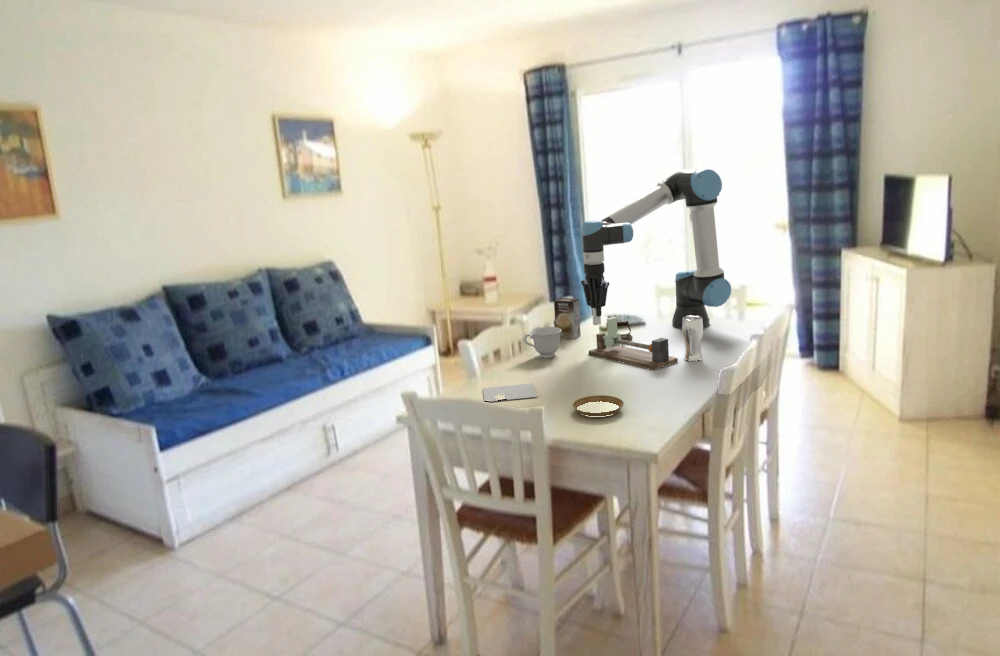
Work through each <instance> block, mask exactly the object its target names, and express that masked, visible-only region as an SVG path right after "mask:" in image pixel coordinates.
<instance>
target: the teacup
mask: <svg viewBox="0 0 1000 656" xmlns="http://www.w3.org/2000/svg"><path fill="white" fill-rule="evenodd" d="M561 331H562V330H561V329H560V328H557V327H555V326H543V327H542V326H541V327H537V328H533V329H531V330H530V331H529V333H526V334H524V336H523V341H524V343H525V344H526V345H527V346H530V347H533V348H534V349H535V351H536V352H537V353H538V354H539V357H540V358H542V357H544V358H543V359H550V358H549V357H551V358H553V357H555V356H556V352H558V350H559V348H560V339H561V338H560V332H561ZM528 337H529V339H530V340H533V343H530V342H529V341H527V338H528Z"/></svg>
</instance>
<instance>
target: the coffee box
mask: <svg viewBox="0 0 1000 656" xmlns="http://www.w3.org/2000/svg"><path fill="white" fill-rule="evenodd" d="M553 307H554V310H553V311H554V324H555V325H554V327H557V328H560V329H561V330H562V331H561V332H560V337H561V338H560V339H565V338H569V339H568V340H576V339H578V338H579V337H581V317H580V314H581V313H580V312H581V311H580V299H579V298H575V297H573V298H571V297H559V298H557V299H555V300H553Z"/></svg>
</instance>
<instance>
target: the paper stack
mask: <svg viewBox="0 0 1000 656" xmlns="http://www.w3.org/2000/svg"><path fill="white" fill-rule="evenodd" d="M482 392H483V399H484V401H483V402H485V401H487V400H489V402H491V403H492V402H499V401H498V399H497V398H494V395H495V397H496V395H497V396H498V393H499V395H502V396H503V395H505V396H504V397H505V399H507V400H506V401H509V400H510V401H511V400H518V399H529V398H538V395H537V392H536V389H535V386H534V383H522V384H512V385H503V386H493V387H492V386H491V387H483V388H482ZM501 393H502V394H501ZM503 393H504V394H503ZM496 399H497V400H496ZM499 400H500V399H499ZM489 402H488V403H489Z"/></svg>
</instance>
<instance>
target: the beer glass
mask: <svg viewBox="0 0 1000 656" xmlns="http://www.w3.org/2000/svg"><path fill="white" fill-rule="evenodd" d="M681 330H682V339H683V343H684V352H685V353H684V360H685V361H686V360H690V361H689V362H691V361H696V360H700V359H702V360H703V356H702V355H703V354H702V341H703V337H704V336H703V335H704V327H703V322H702V317H700V316H686V317H683V324H682V328H681ZM700 361H701V360H700ZM696 362H697V361H696Z"/></svg>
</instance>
